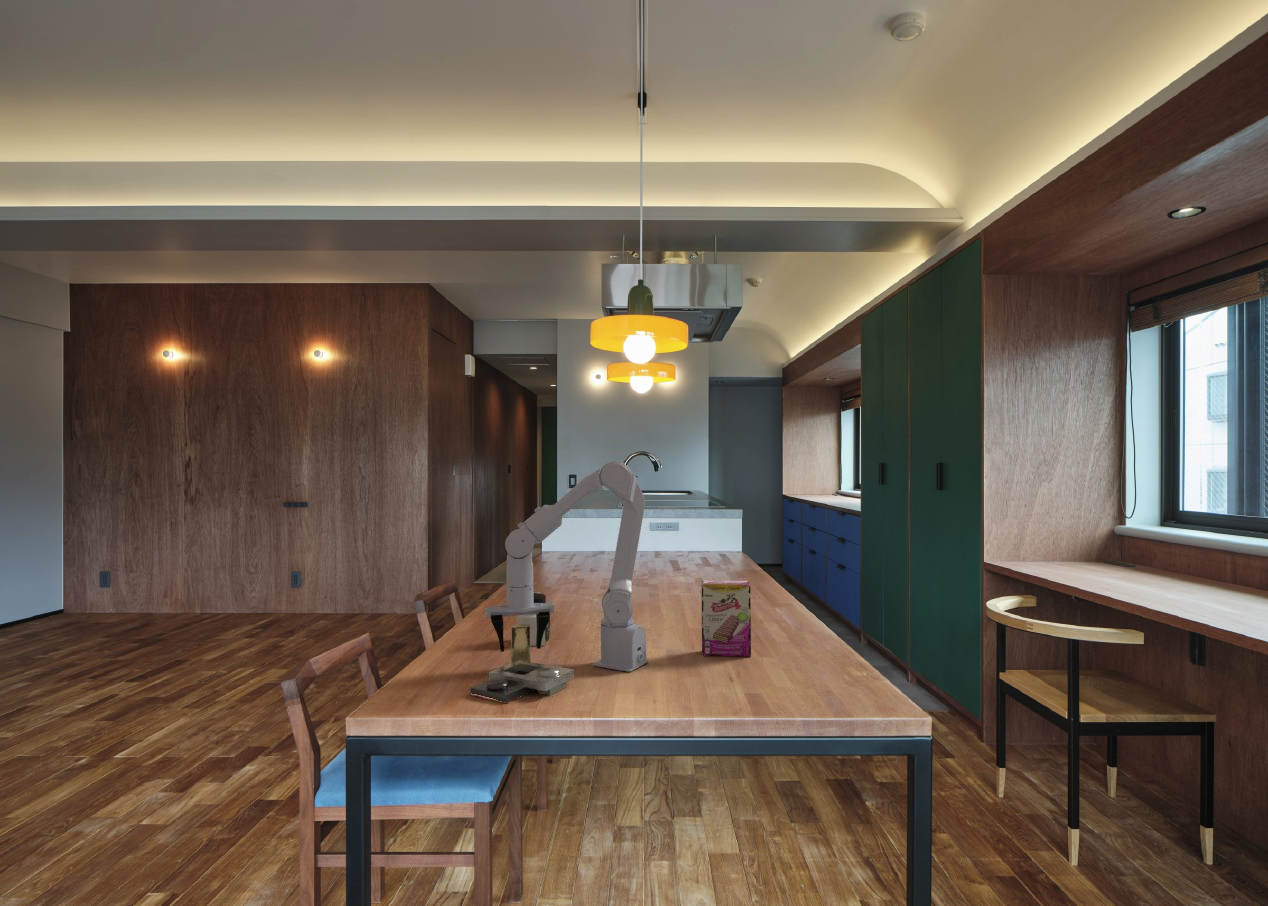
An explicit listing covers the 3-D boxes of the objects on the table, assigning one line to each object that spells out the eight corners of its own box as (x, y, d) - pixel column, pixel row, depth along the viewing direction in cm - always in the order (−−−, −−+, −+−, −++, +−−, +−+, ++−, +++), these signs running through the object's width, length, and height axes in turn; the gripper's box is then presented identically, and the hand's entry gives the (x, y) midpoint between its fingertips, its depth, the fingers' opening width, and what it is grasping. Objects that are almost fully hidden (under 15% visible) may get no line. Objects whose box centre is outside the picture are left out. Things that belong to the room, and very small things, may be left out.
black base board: (519, 674, 134) (519, 663, 134) (553, 681, 129) (553, 669, 129) (470, 695, 121) (470, 683, 122) (506, 703, 117) (506, 690, 117)
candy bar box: (702, 656, 144) (700, 583, 145) (701, 650, 149) (700, 579, 150) (752, 657, 143) (750, 583, 143) (750, 651, 148) (749, 579, 148)
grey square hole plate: (489, 687, 126) (488, 668, 126) (519, 674, 134) (519, 656, 134) (545, 699, 119) (545, 678, 119) (574, 684, 126) (573, 665, 127)
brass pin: (534, 667, 139) (533, 625, 139) (522, 672, 135) (521, 629, 135) (520, 664, 141) (519, 623, 141) (507, 669, 137) (507, 627, 137)
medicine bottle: (546, 646, 155) (545, 596, 155) (516, 646, 155) (516, 596, 156) (550, 638, 162) (550, 590, 163) (522, 638, 162) (521, 591, 163)
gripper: (551, 580, 144) (551, 641, 144) (485, 584, 140) (485, 646, 140) (555, 585, 137) (556, 649, 137) (485, 589, 133) (486, 655, 133)
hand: (520, 648), depth 138 cm, fingers open, 7 cm apart
